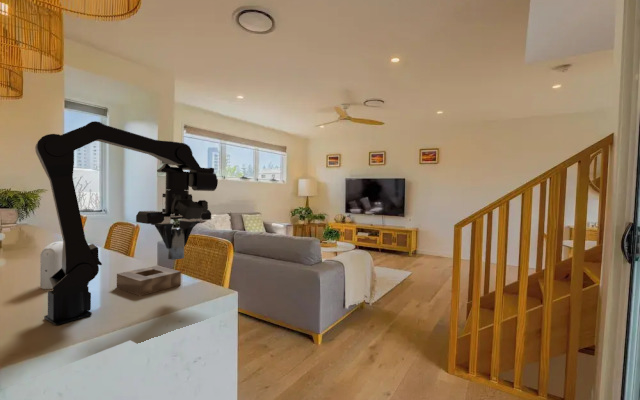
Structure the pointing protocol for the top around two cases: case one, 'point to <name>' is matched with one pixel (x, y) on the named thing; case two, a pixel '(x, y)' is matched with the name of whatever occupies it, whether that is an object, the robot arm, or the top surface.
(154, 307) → the top surface
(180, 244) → the grey metal cylinder
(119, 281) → the socket block
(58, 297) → the robot arm
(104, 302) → the top surface
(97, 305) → the top surface
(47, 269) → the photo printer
